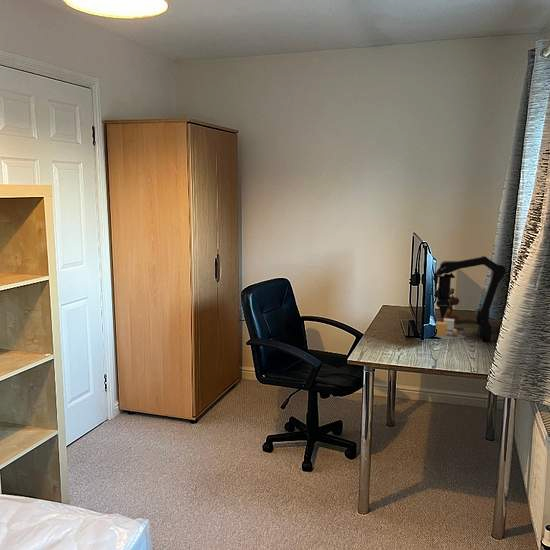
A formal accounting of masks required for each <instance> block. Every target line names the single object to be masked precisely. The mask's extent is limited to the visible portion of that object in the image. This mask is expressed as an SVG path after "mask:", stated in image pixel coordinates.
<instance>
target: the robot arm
mask: <svg viewBox="0 0 550 550" xmlns="http://www.w3.org/2000/svg"><path fill="white" fill-rule="evenodd" d="M482 265H483V266H485V267H486V268H488V269H490V270H491V271H490V281H489V284H488V287H487V290H486V292H485V295H484V297H483V302H482V304H481V306H480V308H476V309H475V314H474V315H473V316H474V320H475V322H476V324H477V326H478V327H477V332H476V337H477V338H478V339H482V342H483V343H485V342H493V341H494V339H492V332H493V325H492V323H491V322H490V321H489V320H490V309H491V306H492V303H493V301H494V297H495V296H496V292H497V289H498V287H499V286H498V285H499V283H500V282H501V281H502V280H503V278H504V276H505V274H506V271H507V270H506V267H505V266H504V265H503V264H501V263H496V262H494V261H492V260H491V259H489V258H488V257H487V256H485V255H482V256H479V257H474V258H473V257H472V258H467V259H463V260H443V261H442V262H441V263H440V264H439V268H438V269H437V270H436V271H435V285H437V284H438V287H437V289H436V290H434V291H435V295H434V296H435V298H437V299H436V306H437V307H438V308H439V313H440V315H441V318H443V317H444V315H445V313H446V311H447V309H448V307H449V304H450V301H449V300H450V297H451V295H450V289H451V283H452V279H455V278H456V276H455V275H454V274H453V272H456V271H457V270H460V269H465V268H471V267H476V266H482Z"/></svg>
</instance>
